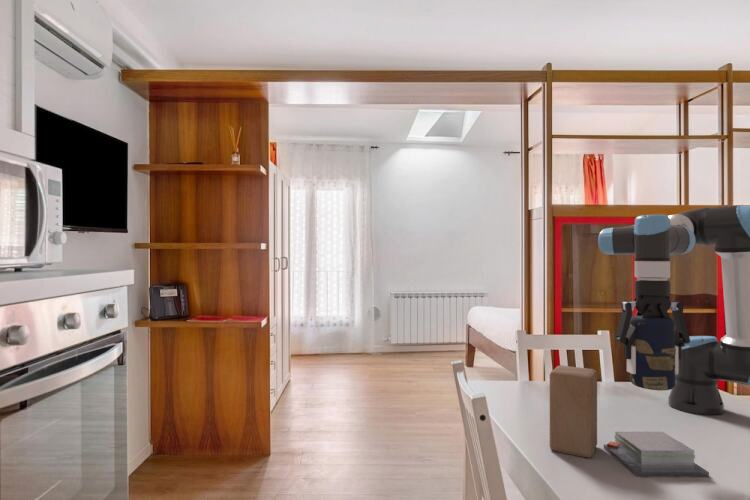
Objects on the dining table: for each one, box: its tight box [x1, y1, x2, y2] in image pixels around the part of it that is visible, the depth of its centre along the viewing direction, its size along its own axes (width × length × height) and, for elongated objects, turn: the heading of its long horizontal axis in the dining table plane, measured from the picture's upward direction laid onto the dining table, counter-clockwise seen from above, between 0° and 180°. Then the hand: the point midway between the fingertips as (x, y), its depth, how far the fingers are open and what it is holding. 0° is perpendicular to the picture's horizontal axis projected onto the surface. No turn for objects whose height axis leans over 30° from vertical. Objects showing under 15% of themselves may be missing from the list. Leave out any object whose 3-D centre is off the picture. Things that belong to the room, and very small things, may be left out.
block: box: [549, 364, 598, 459], centre depth 125 cm, size 10×10×20 cm
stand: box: [603, 431, 710, 478], centre depth 118 cm, size 16×17×5 cm
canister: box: [629, 315, 676, 392], centre depth 118 cm, size 10×10×18 cm
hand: (652, 372), depth 118 cm, fingers closed on canister, 9 cm apart
